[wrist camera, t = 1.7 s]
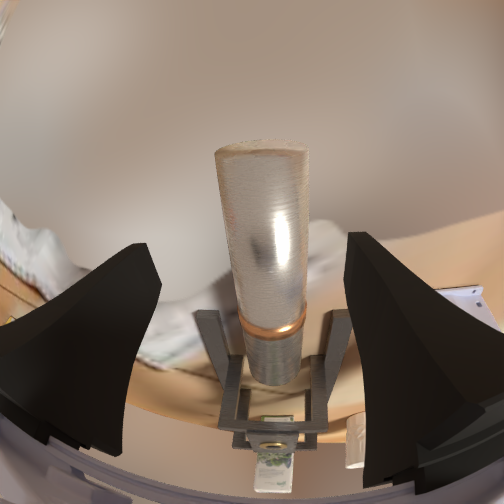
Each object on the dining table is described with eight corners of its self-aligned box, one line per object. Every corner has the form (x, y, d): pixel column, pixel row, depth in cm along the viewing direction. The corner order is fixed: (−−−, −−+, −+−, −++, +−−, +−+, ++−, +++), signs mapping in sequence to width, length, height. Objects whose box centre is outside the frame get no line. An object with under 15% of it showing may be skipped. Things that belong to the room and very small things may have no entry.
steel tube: (223, 142, 16) (200, 164, 12) (306, 138, 15) (315, 159, 11) (251, 342, 27) (245, 385, 23) (301, 343, 27) (301, 387, 22)
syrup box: (264, 424, 43) (258, 492, 32) (260, 414, 40) (252, 491, 28) (294, 424, 42) (291, 493, 31) (294, 414, 39) (290, 492, 27)
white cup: (379, 405, 37) (385, 456, 28) (387, 415, 40) (392, 460, 32) (337, 417, 40) (339, 466, 32) (350, 426, 43) (352, 469, 35)
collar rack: (353, 309, 23) (370, 404, 15) (323, 407, 37) (324, 461, 29) (198, 309, 25) (171, 400, 17) (233, 406, 39) (225, 459, 31)
